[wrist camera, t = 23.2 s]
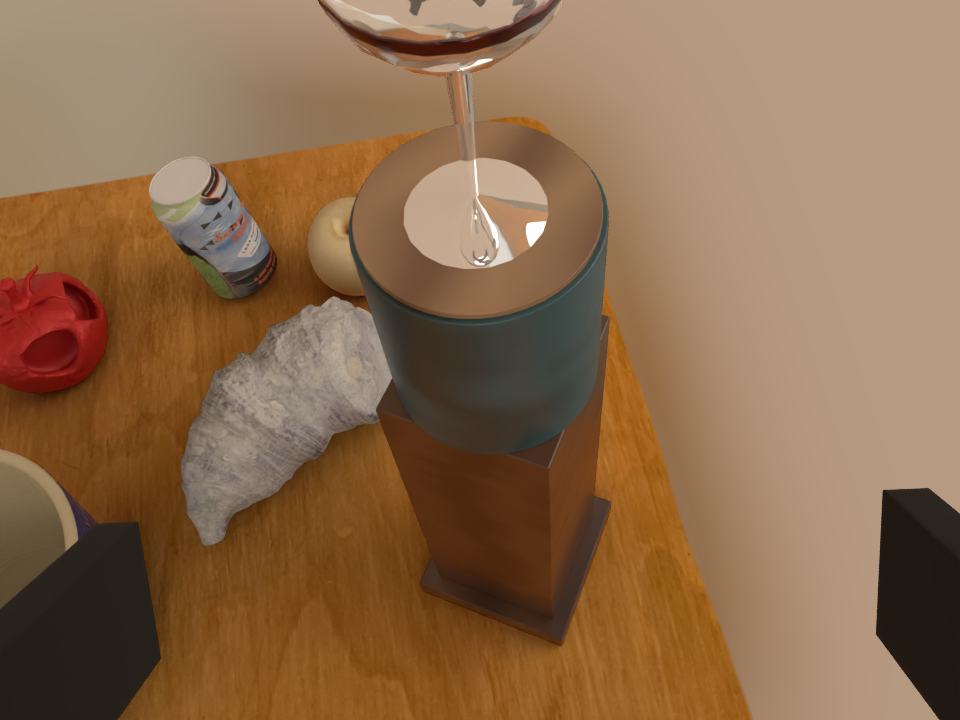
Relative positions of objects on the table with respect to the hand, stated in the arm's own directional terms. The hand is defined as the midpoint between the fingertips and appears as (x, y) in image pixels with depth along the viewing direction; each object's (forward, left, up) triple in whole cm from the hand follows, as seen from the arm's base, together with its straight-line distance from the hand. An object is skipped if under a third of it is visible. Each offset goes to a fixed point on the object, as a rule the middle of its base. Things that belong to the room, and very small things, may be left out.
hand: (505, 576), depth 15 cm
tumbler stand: (+7, -13, -42) cm, 45 cm away
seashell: (+25, -15, -43) cm, 52 cm away
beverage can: (+38, -27, -43) cm, 63 cm away
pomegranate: (+48, -15, -43) cm, 66 cm away
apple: (+28, -31, -43) cm, 60 cm away
